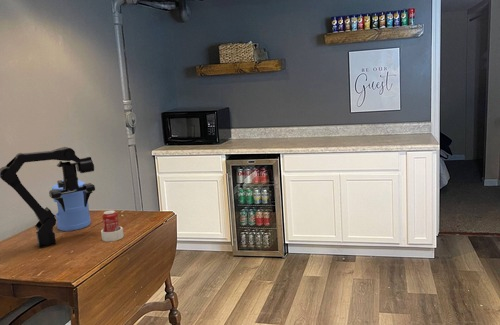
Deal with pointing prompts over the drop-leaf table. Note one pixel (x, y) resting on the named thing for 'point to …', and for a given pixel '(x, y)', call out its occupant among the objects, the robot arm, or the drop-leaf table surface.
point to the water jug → (72, 210)
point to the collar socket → (112, 235)
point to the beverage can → (110, 221)
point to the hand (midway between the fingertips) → (75, 209)
